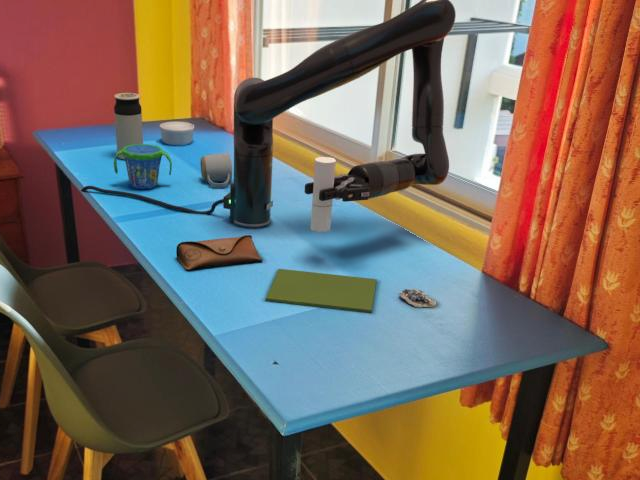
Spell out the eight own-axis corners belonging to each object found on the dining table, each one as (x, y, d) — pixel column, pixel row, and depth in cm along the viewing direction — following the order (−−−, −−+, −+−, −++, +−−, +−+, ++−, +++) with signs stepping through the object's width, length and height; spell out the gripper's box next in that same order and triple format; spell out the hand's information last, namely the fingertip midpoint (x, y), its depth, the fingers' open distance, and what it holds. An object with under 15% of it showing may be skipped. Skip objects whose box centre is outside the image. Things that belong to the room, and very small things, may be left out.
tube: (328, 232, 167) (334, 163, 158) (309, 230, 167) (313, 161, 159) (331, 225, 170) (336, 157, 162) (311, 224, 171) (316, 156, 163)
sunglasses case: (187, 270, 164) (182, 238, 163) (179, 274, 170) (174, 244, 170) (265, 260, 170) (260, 229, 169) (255, 264, 176) (250, 235, 176)
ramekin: (193, 147, 247) (192, 130, 244) (158, 146, 247) (157, 129, 244) (195, 138, 256) (195, 121, 254) (162, 137, 256) (161, 120, 254)
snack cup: (175, 181, 217) (174, 144, 211) (169, 193, 208) (167, 155, 202) (120, 178, 217) (117, 142, 212) (111, 190, 208) (109, 152, 203)
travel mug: (149, 156, 237) (146, 95, 227) (132, 162, 231) (128, 99, 221) (129, 151, 240) (125, 91, 231) (112, 157, 235) (107, 95, 225)
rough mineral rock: (409, 289, 160) (410, 280, 159) (444, 300, 156) (445, 292, 155) (392, 299, 156) (393, 291, 155) (427, 311, 152) (429, 303, 150)
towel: (265, 300, 154) (265, 298, 153) (278, 271, 166) (278, 268, 166) (371, 312, 150) (371, 310, 150) (376, 281, 163) (376, 279, 163)
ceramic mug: (199, 177, 220) (199, 150, 216) (227, 176, 222) (228, 149, 218) (206, 189, 212) (205, 162, 207) (235, 188, 213) (235, 160, 209)
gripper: (353, 155, 174) (293, 166, 166) (397, 171, 164) (336, 184, 156) (350, 187, 178) (291, 200, 170) (393, 205, 168) (332, 220, 160)
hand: (313, 192), depth 163 cm, fingers closed on tube, 4 cm apart
